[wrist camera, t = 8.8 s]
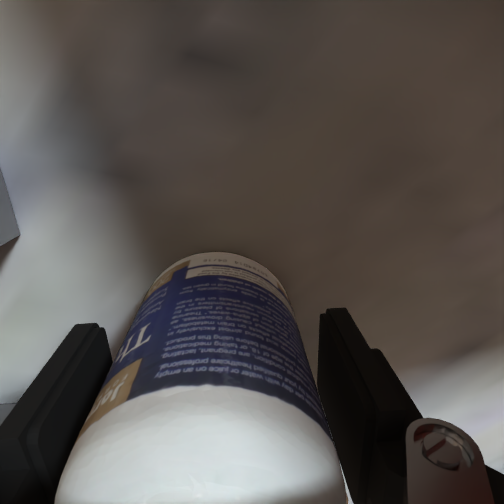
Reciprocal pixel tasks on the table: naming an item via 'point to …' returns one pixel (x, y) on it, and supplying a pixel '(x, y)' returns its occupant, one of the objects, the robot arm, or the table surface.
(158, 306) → the pill bottle
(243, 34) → the table surface
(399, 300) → the table surface
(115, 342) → the table surface
